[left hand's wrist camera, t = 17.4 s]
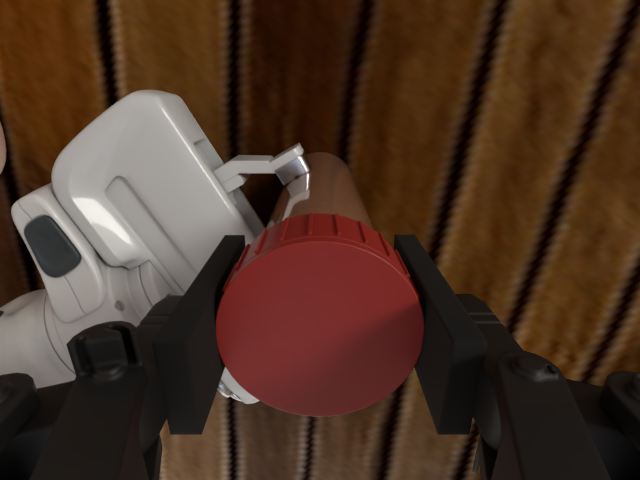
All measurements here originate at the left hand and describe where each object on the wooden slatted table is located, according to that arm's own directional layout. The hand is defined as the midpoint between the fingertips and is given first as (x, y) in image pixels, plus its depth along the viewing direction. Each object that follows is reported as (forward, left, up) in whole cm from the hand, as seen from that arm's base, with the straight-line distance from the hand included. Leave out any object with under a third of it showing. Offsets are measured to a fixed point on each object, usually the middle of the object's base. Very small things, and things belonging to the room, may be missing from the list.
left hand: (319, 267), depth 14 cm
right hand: (0, -1, -7) cm, 8 cm away
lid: (0, 0, +4) cm, 4 cm away
